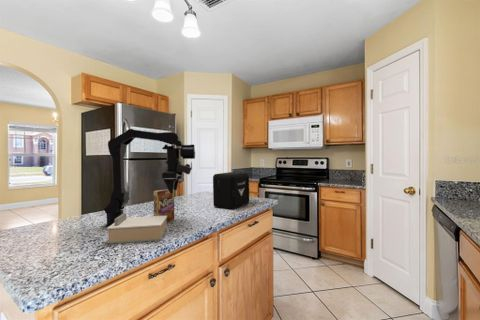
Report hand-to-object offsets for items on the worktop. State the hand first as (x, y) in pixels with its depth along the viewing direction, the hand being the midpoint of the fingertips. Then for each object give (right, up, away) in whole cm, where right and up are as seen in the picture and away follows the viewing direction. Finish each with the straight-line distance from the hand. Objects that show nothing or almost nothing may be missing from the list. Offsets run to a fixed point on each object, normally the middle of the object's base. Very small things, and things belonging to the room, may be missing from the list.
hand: (173, 191), depth 110 cm
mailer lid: (-8, -9, -19) cm, 23 cm away
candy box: (-5, -15, +1) cm, 15 cm away
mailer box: (-8, -15, -19) cm, 25 cm away
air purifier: (+27, -13, +33) cm, 45 cm away
